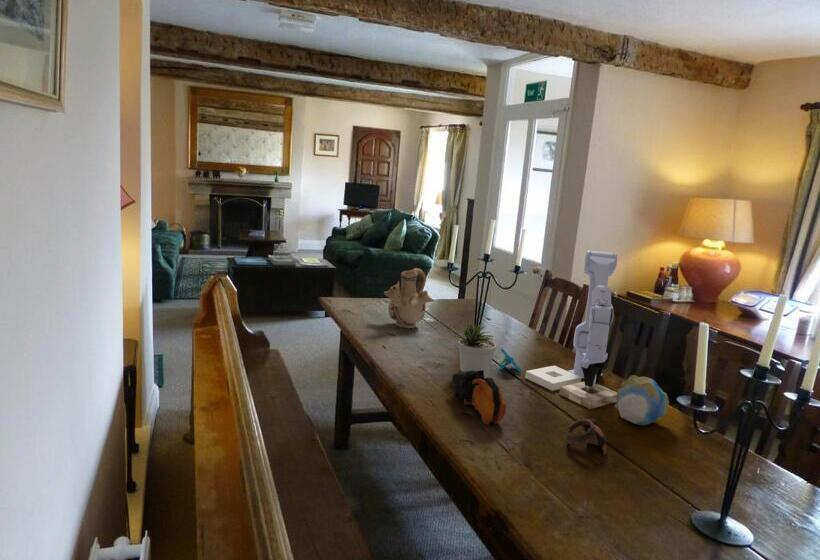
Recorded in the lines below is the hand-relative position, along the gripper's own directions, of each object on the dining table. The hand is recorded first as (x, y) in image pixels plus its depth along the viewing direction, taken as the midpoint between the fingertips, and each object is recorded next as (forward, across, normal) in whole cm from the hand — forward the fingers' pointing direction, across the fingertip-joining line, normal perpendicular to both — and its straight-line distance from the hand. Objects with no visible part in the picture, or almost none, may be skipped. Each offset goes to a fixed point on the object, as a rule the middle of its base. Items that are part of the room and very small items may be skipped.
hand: (590, 384), depth 176 cm
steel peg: (+3, 0, 0) cm, 4 cm away
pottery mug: (+5, +32, +14) cm, 35 cm away
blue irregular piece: (+5, 0, -30) cm, 30 cm away
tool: (+5, +36, -18) cm, 41 cm away
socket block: (+4, -3, -15) cm, 16 cm away
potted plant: (+5, +16, -34) cm, 38 cm away
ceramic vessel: (+5, -7, -89) cm, 89 cm away
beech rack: (+4, 0, 0) cm, 4 cm away
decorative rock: (+5, +4, +17) cm, 18 cm away
